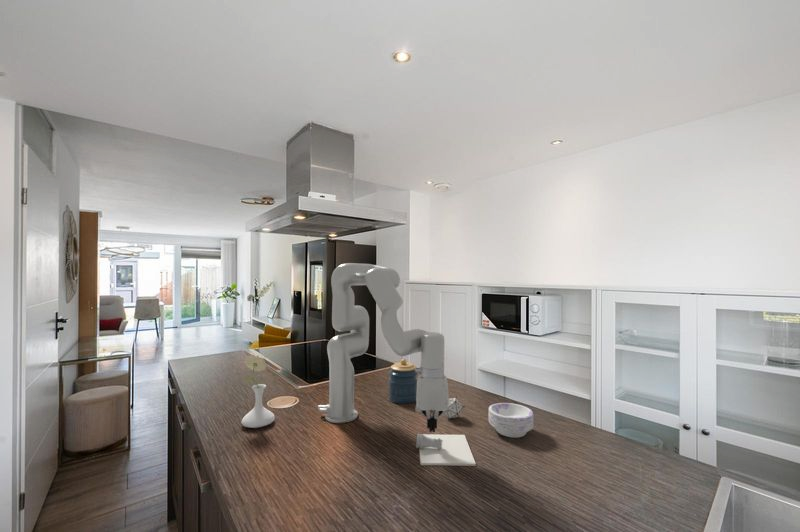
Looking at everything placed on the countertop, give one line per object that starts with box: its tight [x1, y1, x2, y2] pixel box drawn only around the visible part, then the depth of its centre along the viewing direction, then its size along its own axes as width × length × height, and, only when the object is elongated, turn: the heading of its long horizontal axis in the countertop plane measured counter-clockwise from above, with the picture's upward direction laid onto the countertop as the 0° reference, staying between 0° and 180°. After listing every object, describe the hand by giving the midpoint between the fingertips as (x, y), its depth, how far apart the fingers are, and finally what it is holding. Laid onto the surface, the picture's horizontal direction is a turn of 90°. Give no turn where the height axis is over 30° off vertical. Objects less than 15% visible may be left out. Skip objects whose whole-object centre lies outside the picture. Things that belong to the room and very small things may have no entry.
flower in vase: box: [241, 354, 276, 429], centre depth 127 cm, size 13×11×25 cm
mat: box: [418, 433, 477, 467], centre depth 110 cm, size 16×18×1 cm
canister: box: [388, 358, 418, 405], centre depth 154 cm, size 13×13×18 cm
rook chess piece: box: [415, 432, 442, 450], centre depth 109 cm, size 4×4×8 cm
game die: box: [444, 395, 466, 421], centre depth 134 cm, size 9×8×10 cm
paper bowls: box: [488, 402, 534, 439], centre depth 122 cm, size 15×15×8 cm
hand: (431, 430), depth 110 cm, fingers closed
